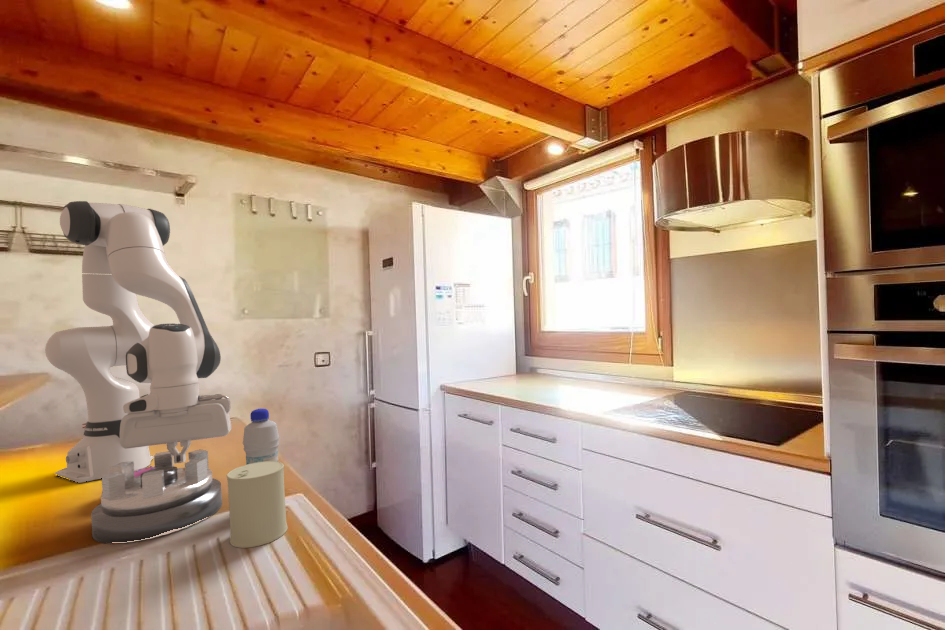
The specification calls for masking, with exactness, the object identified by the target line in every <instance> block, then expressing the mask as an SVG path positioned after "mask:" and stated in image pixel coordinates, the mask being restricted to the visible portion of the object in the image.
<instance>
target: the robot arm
mask: <svg viewBox="0 0 945 630" xmlns="http://www.w3.org/2000/svg"><path fill="white" fill-rule="evenodd" d="M59 226H60V229H61V231H62V233H63V236H64V237H65V238H66V239H67V240H69V242H71V243H74V244H77V245H82V246H84V248H83V254H82V262H81V263H82V264H81V279H82V280H81V283H82V284H81V285H82V301H83V303H84V304H85V306H86V307H88V308H89V309H91V310H93V311H95V312H97V313H100V314H102V315H107V316H108V317H110V318H111V320H112V325H107V326H103V325H102V326H84V327H83V326H82V327H80V326H79V327H75V328H69V329H63V330H58V331H55V332H54V333H53V334H52V335H51V336H50V337H49V338H48V340H47V342H46V344H45V349H44V350H45V351H44V353H45V356H46V358H47V360H48V362H49V364H51V365H52V366H53V367H54V368H57V369H58V370H61V371H63V372H65V373H67V374H68V375H70V376H71V377H72V378H73V379H74V380H76V382H77V383H78V384H79V386H80V387H81V388H82V391H83V393H84V396H85V402H86V411H87V422H85V423H82V424H81V425H82V429H84V432H83V437H82V438H81V439H79V441H78V442H76V444H75V445H74V446H73V447H71V448H70V450H68V452H67V455H65V456H66V457H65V461H66V467H65V468H63V469H62V468H61V469H60V470H58V471H55V472H54V475H55V474H57V475H59V476H62V477H65V478H68V479H70V480H73V481H75V482H74V483H77V482H78V484H79V483H80V484H81V483H87V482H92V481H95V480H102V479H101V478H102V476H104V475H108V474H110V467H111V466H113V465H116V464H118V463H121V462H133V461H134V471H135V470H138V469H141V468H142V469H143V468H147V467H150V466H151V464H152V463H151V462H152V461H153V460H154V459H153V458H154V455H151V453H150V448H149V447H150V446H158V445H165V444H166V449H167V451H169V452H170V453H171V454H172V455H173V464H181V463H182V464H183V463H186V460H187V456H186V455H187V454H186V453H187V452H188V449H189V447H190V446H191V445H192V441H197V440H205V439H215V438H221V437H225V436H228V435H229V433H230V432H231V430H232V421H231V416H230V413H229V412H230V411H231V400H230V397H228V396H226V395H223V393H218V394H217V393H216V394H207V395H206V394H205V395H201V394H200V393H201V391H200V390H201V389H200V379H207V378H208V377H210V376H211V375H212V374H213V373H214V372H215V371H216V370H217V369H218V367H219V366H220V364H221V361H222V360H221V358H222V357H221V351H220V348H219V346H218V344H217V343H216V341H215V339H214V338H213V336H212V334H211V333H210V330H209V328H208V326H207V324H206V322H205V319H204V317H203V313H202V312H201V308H200V307H199V304H198V303H197V300H196V298H195V295H194V293H193V291H192V289H191V286H190V284H188V281H187V280H186V279H185V278H183V277H181V276H180V275H178V274H177V273H176V271H174V270H173V268H172V267H171V265H170V264H169V263H168V261H167V257H166V253H165V248H164V246H165V245H166V244H167V243H168V242H169V240H170V236H171V235H170V234H171V226H170V222H169V219H168V218H167V215H165V213H163V212H161V211H159V210H156V209H153V208H143V207H137V206H136V205H135V206H133V205H128V204H123V203H118V204H115V203H106V202H105V203H104V202H88V201H87V200H78V201H76V200H75V201H69V202H68V203H67V204H65V205H64V206H63V209H62V211H61V213H60V216H59ZM137 295H138V296H142V297H146V298H148V299H152V300H155V301H158V302H161V303H162V304H165V305H167V306H168V307H170V308H171V309H172V310H173V311H174V312H175V314H176V316H177V318H178V321H179V323H161V324H154V323H152V322H151V321H150V320H149V319H148V318H147V317H146V316H145V314H144V313H143V312H142V310H141V308H140V306H139V303H138V296H137ZM120 366H121V367H122V366H126V367H125V368H126V375H127V376H128V377H129V378H130V379H132V380H134V381H135V382H136V383H137V382H138V383H140V384H141V383H142V384H150V385H149V386H150V387H149V391H150V392H149V394H143V395H142V396H140V389H139V386H138V385H137V384H136V383H135V382H132V381H130V380H127V379H124V378H120V377H117V376H114V375H113V374H112V372H111V368H113V367H120ZM178 443H180V447H182V449H181V451H179V449H178V448H177V446H178ZM152 459H153V460H152ZM151 460H152V461H151ZM70 480H69V481H70ZM73 481H72V482H73ZM86 481H87V482H86Z"/></svg>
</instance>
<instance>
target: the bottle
mask: <svg viewBox="0 0 945 630" xmlns="http://www.w3.org/2000/svg"><path fill="white" fill-rule="evenodd" d="M269 418H270V414H269V410H268V409H266V408H256V409H253V410H251V412H250V423H248V424H247V425H245V427H244V428H243V437H242V438H243V439H242V444H243V451H244V452H245V465H247V464H252V463H257V462H265V461H277V462H279V449H278V447H279V445H280V435H279V430H278V426H277V423H276V422H275V421H273V420H270V419H269Z"/></svg>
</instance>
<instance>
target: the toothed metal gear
mask: <svg viewBox="0 0 945 630" xmlns="http://www.w3.org/2000/svg"><path fill="white" fill-rule="evenodd" d="M208 451H209V450H207V449H201V448H200V449H197V450H192V451H189V452H188V451H187V452H188V453H187V454H188V461H187V462H184V467H177V466H174V456H173V455H172V454H171V453H170V452H169V451H168V450H167V451H163V452H161V451H160V452H155V453H154V455H153V458H154V459H153V460H154V462H153V463H154V466H155V469H152V470H149V471H146V472H144V473H142V474H141V475H140V476H138V477H134V461H133V462H121V463H118V464H116V465H113V466H111V467H110V474H108V475H104V476H102V479H101V488H102V490H101V495H100V502H101V503H100V504H101V506H102V512H103V513H105V514H108V515H116V516H124V515H135V514H143V513H148V512H153V511H158V510H162V509H166V508H170V507H173V506H176V505H179V504H182V503H185V502H188V501H190V500H192V499H195V498H197V497H199V496H201V495H203V494H204V493H206V492H207V491H209V490H210V489H211V487H212V485H213V481H212V478H213V470H212V469H210V468H209V453H208ZM102 491H103V493H102Z"/></svg>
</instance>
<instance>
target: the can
mask: <svg viewBox="0 0 945 630" xmlns="http://www.w3.org/2000/svg"><path fill="white" fill-rule="evenodd" d="M284 467H285V465H284V463H282V462H281V461H278V462H277V461H265V462H257V463H252V464H247V465H246V464H245V465H241V466H238V467H236V468H233V469H232V470H230V471H229V472H227V474H226V482H227V493H228V506H229V507H228V509H229V529H230V531H229V532H230V535H229V537H230V538H229V543H230V545H231V546H233V547H235V548H241V549H246V548H247V549H248V548H253V547H254V548H256V547H259V546H263V545H267V544H270V543H272V542H274V541H276V540H278V539H280V538H281V537H283V536H284V535H285V534H286V533H287V532H288V524H287V512H286V511H287V510H286V495H285V494H286V493H285V491H286V490H285V473H284V470H285V469H284Z"/></svg>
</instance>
